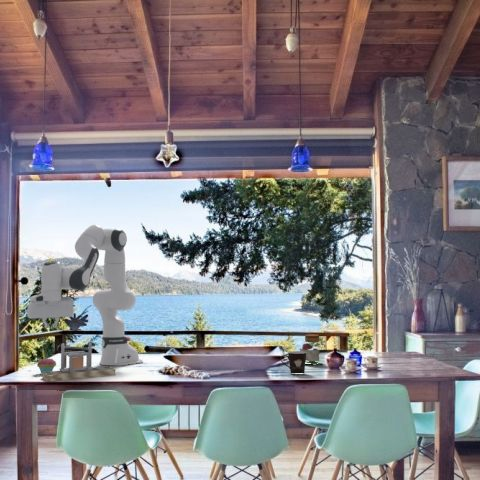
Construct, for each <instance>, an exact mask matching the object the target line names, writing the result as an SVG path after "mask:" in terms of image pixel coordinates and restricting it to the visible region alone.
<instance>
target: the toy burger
mask: <svg viewBox="0 0 480 480" xmlns="http://www.w3.org/2000/svg"><path fill="white" fill-rule="evenodd" d="M304 339H305V340H304V341H305V342H306V343H303V344H302V348H299V351H303V352H306V361H309V362H307V363H311V364H317V363H318V362H320V349H318V348H313V346H312V345H311V344H310V343H320V335H319V334H315V333H313V334H305V335H304ZM315 361H318V362H315ZM322 363H323V362H322ZM322 363H318V364H322ZM322 365H323V364H322Z"/></svg>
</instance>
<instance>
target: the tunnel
mask: <svg viewBox="0 0 480 480" xmlns="http://www.w3.org/2000/svg"><path fill="white" fill-rule="evenodd" d="M75 356H82V357H85V356H86V362H85V363H86V365H85V366H86V372H89V351H87V352H86V351H85V350H78V351H68V352H67V351H64V368H67V358H68V359H69V360H68V363H69V364H68V366H69V367H68V368H69V374H71V373H72V357H75Z"/></svg>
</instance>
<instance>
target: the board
mask: <svg viewBox="0 0 480 480" xmlns="http://www.w3.org/2000/svg"><path fill="white" fill-rule="evenodd" d="M115 375H116V369H115V368H114V367H113V366H111V365H105V366H97V367H94V366H93V369H89V372H86V370H76V371H72V373H71V374H69V371H65V372H62V371H60V370H52V371H50V372H44V373H43V374H42V379H43V380H45V381H47V382H58V381H66V380H76V379H86V378H96V377H97V378H98V377H108V376H115Z"/></svg>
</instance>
